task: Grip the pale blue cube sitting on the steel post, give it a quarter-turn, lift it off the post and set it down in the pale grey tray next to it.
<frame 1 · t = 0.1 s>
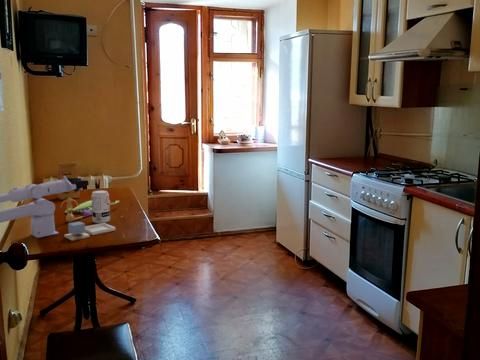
hand: (84, 181, 214), 22 cm above the table, tool horizontal, fingers open, 7 cm apart
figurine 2: (93, 211, 250), on the table
figurine: (70, 221, 226), on the table
pale blue cube: (76, 232, 200), point 2 cm above the table, touching post stand
supplement can: (101, 221, 226), on the table
tray: (98, 230, 210), on the table
coffee package: (68, 198, 282), on the table
post stand: (77, 236, 200), on the table
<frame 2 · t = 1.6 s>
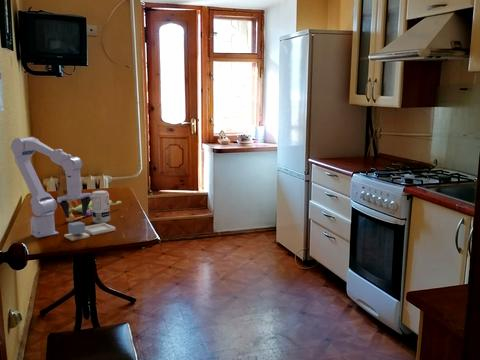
hand: (75, 216, 198), 9 cm above the table, tool pointing down, fingers open, 7 cm apart
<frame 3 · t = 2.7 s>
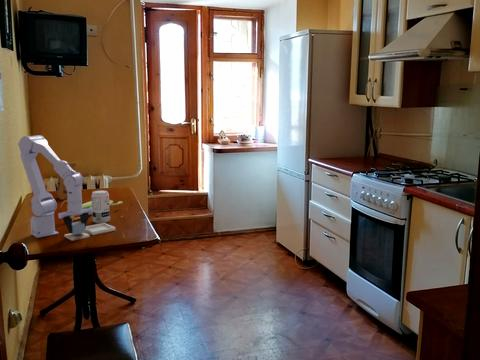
hand: (76, 231, 200), 2 cm above the table, tool pointing down, fingers closed on pale blue cube, 5 cm apart
pale blue cube: (77, 232, 200), point 2 cm above the table, touching gripper, post stand
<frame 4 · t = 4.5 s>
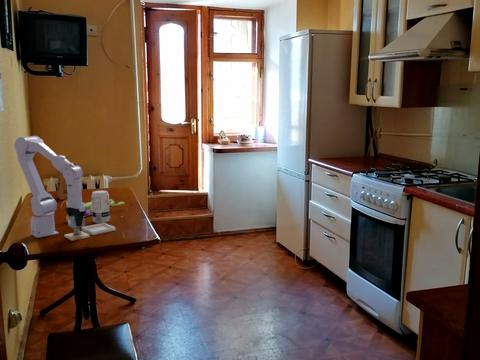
hand: (76, 224, 199), 5 cm above the table, tool pointing down, fingers closed on pale blue cube, 5 cm apart
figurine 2: (98, 211, 250), on the table
pale blue cube: (76, 225, 199), point 5 cm above the table, touching gripper
everything else where it was.
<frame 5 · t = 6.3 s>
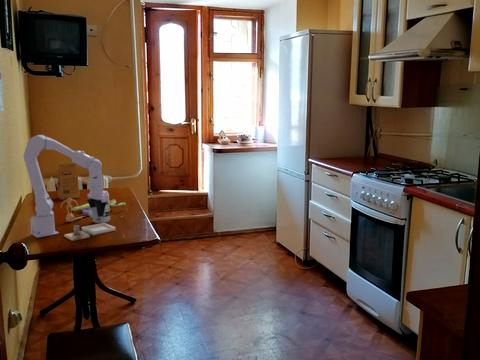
hand: (97, 215, 209), 7 cm above the table, tool pointing down, fingers closed on pale blue cube, 5 cm apart
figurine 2: (100, 211, 249), on the table
pale blue cube: (97, 216, 209), point 7 cm above the table, touching gripper
everything else where it was.
when the fingers open (2 cm above the table, at t = 7.6 s): pale blue cube drops 2 cm, resting on tray.
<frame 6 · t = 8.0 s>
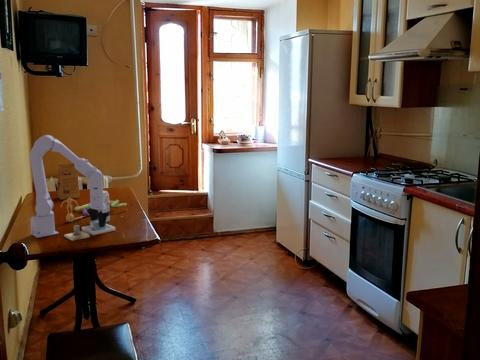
hand: (98, 225, 210), 2 cm above the table, tool pointing down, fingers open, 7 cm apart
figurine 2: (101, 211, 249), on the table
pale blue cube: (98, 229, 210), resting on tray
everything else where it was.
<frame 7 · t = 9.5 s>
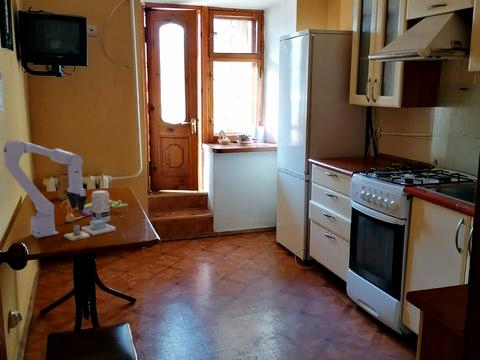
hand: (77, 209, 211), 9 cm above the table, tool pointing down, fingers open, 7 cm apart
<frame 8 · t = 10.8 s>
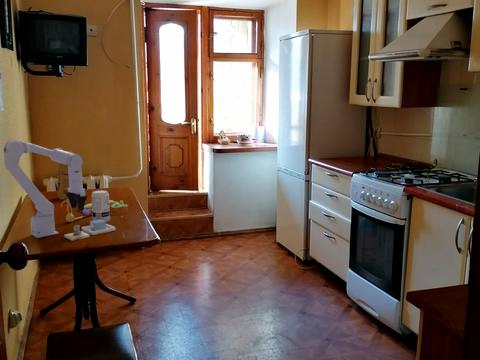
hand: (77, 209, 211), 9 cm above the table, tool pointing down, fingers open, 7 cm apart
at the end: pale blue cube inside the target area on the tray (0.1 cm from its centre), point 0.4 cm above the tray's base; pale blue cube tilted 0°; the gripper is holding nothing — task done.
